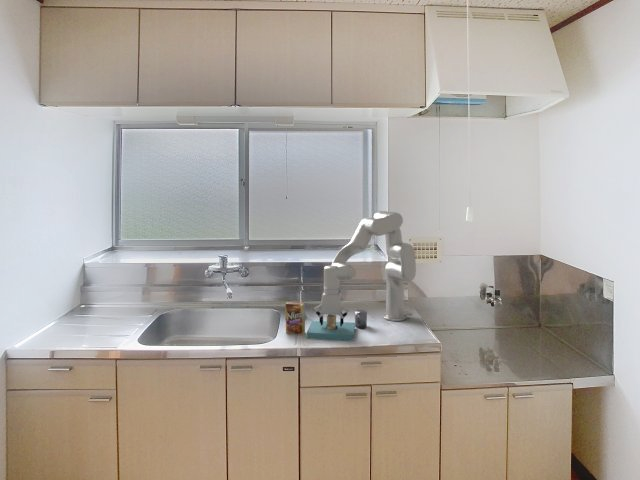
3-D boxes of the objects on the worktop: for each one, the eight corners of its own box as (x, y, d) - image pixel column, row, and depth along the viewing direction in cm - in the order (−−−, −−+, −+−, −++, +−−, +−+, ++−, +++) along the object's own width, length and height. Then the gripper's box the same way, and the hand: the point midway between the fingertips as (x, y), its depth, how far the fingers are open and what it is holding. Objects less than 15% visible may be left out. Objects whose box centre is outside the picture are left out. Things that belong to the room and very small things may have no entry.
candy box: (285, 333, 187) (284, 303, 185) (288, 330, 191) (288, 301, 189) (302, 335, 184) (302, 305, 182) (305, 332, 189) (305, 302, 186)
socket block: (354, 328, 194) (354, 322, 193) (353, 340, 178) (353, 334, 177) (312, 326, 196) (311, 320, 196) (306, 338, 181) (306, 332, 180)
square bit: (336, 332, 189) (336, 314, 188) (335, 335, 185) (335, 317, 184) (328, 331, 189) (328, 314, 188) (326, 334, 185) (326, 316, 184)
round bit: (366, 324, 199) (366, 309, 198) (366, 329, 193) (366, 313, 192) (355, 324, 199) (355, 309, 198) (354, 328, 194) (354, 313, 192)
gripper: (349, 289, 187) (349, 323, 189) (315, 288, 189) (315, 321, 191) (349, 293, 179) (348, 328, 182) (312, 292, 182) (312, 326, 184)
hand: (331, 324), depth 187 cm, fingers open, 9 cm apart
